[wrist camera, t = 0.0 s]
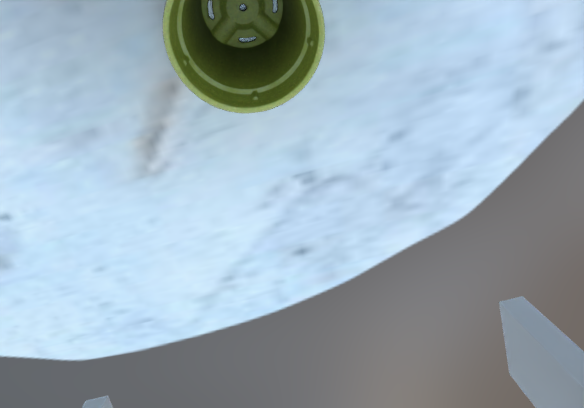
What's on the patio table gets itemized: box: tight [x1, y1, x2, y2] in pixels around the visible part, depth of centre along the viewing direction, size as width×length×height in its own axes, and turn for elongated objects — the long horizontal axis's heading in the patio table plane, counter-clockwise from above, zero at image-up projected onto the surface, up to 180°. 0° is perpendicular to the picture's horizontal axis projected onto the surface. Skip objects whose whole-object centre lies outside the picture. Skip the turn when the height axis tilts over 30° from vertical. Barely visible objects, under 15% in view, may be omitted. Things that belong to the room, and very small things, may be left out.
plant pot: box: [163, 0, 325, 113], centre depth 32 cm, size 9×9×9 cm
